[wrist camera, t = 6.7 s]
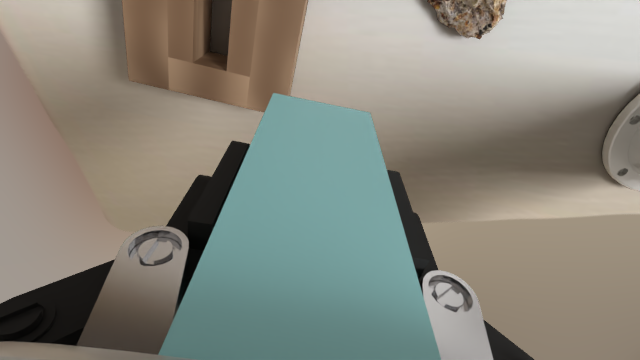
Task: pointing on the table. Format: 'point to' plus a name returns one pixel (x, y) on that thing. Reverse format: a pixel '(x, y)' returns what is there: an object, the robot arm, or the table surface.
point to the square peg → (306, 251)
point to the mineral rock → (469, 15)
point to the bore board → (208, 67)
